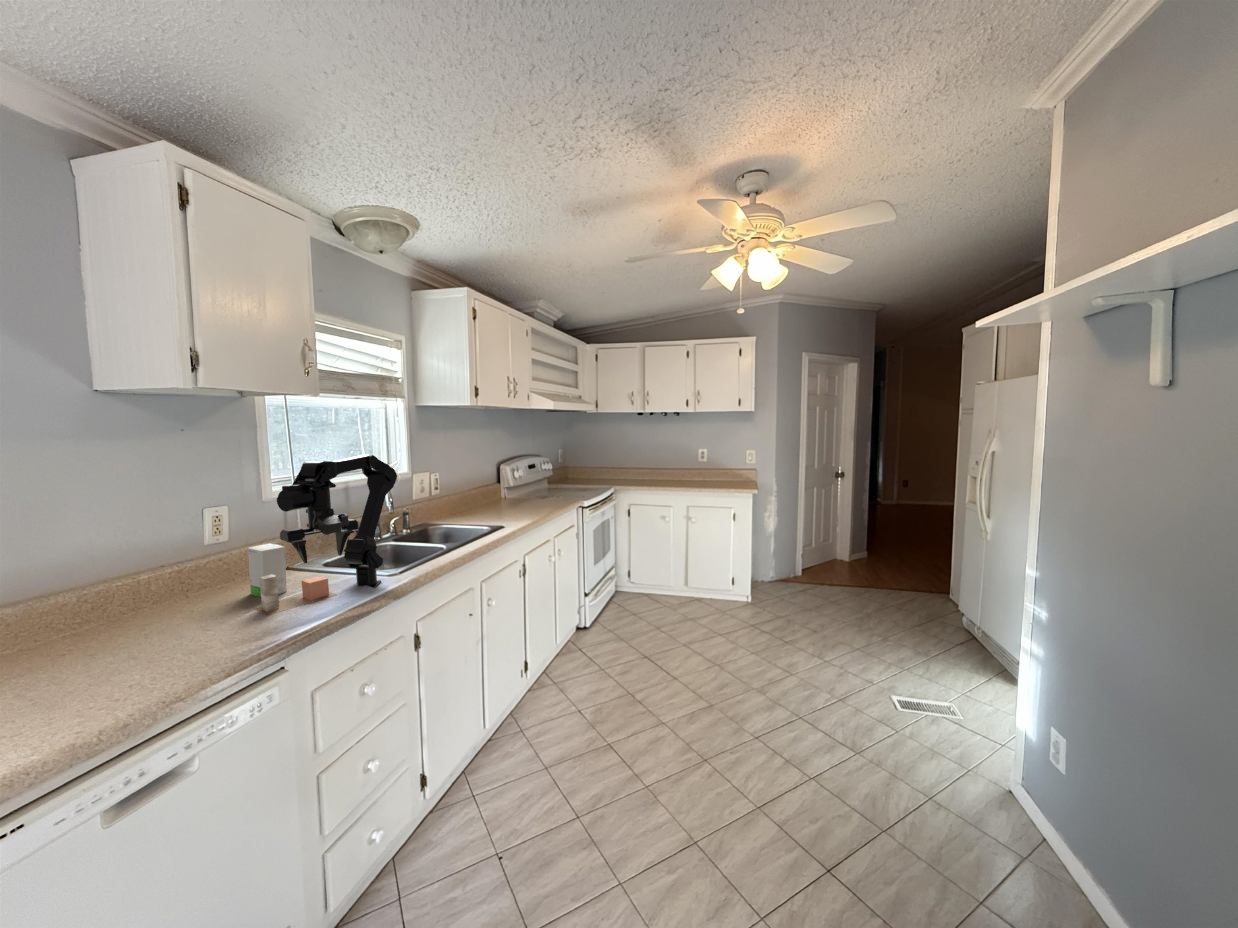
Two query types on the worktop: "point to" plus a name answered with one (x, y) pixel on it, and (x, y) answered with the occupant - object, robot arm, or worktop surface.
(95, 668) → the worktop surface
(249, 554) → the skincare box
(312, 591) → the cube
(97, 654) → the worktop surface
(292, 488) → the robot arm
